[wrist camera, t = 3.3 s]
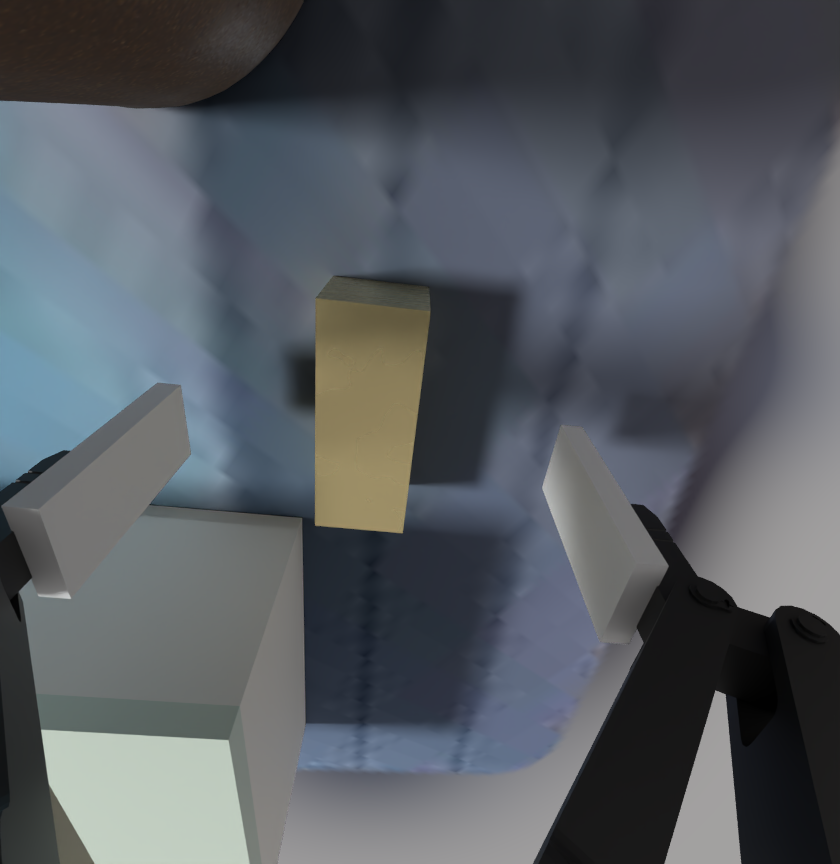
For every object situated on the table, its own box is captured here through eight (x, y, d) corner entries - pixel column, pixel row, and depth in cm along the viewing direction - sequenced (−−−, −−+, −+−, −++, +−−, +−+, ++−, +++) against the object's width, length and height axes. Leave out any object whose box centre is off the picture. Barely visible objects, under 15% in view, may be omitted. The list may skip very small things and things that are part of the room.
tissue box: (27, 707, 30) (-131, 925, 22) (-93, 484, 21) (-443, 702, 13) (305, 724, 31) (262, 938, 23) (302, 517, 22) (228, 740, 14)
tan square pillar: (329, 474, 22) (315, 525, 18) (334, 274, 17) (315, 298, 14) (405, 481, 22) (402, 533, 19) (428, 285, 17) (430, 311, 14)
